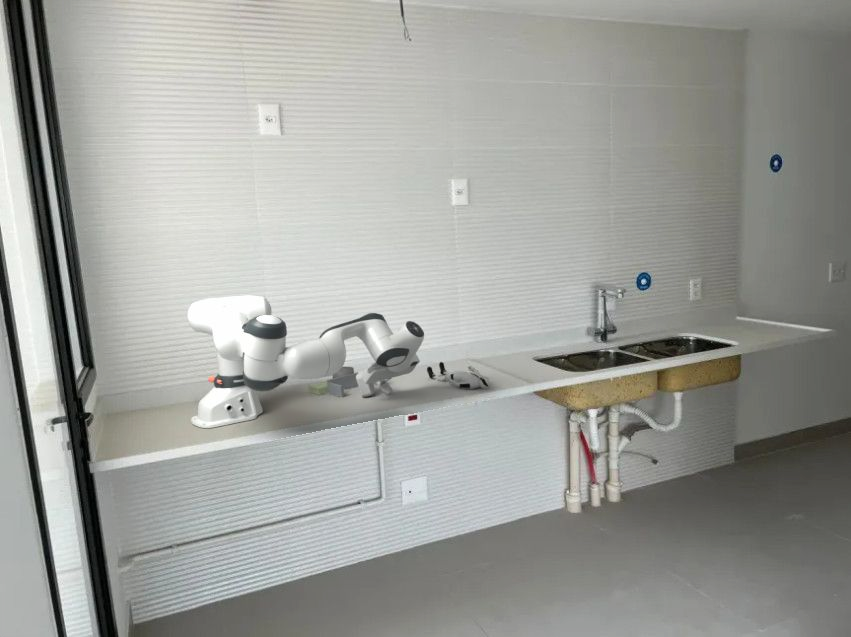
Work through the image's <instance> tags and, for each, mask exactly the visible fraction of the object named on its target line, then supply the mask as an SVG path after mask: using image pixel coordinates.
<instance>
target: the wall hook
mask: <svg viewBox="0 0 851 637" xmlns="http://www.w3.org/2000/svg"><path fill="white" fill-rule="evenodd" d="M364 371H365V369H364V370H360V371H358V372H359V373H358V374H357V375H356V380H357V383H358V386H357V387H358V388H359V392H360V395H361V397H362V398H363V399H364V398H367V397H370V396H373V395H374V393H375V391H376V386H378V387H379V388H380V389H381V391H383V393H384V394H385V395H387V396H388V395H389V394H390V393H391V392H392V391H393V387H392V386H391V385H390V384H389V383H388V382H387V383H386V384H382V385H378V384H377V382H375V383H376V384H377V385H376V386H375V385H374V384H373V383H370V384H366V383H365V382H364V381H363V379H362V377H361V375H362V374H363V372H364Z"/></svg>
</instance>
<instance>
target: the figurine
mask: <svg viewBox="0 0 851 637" xmlns="http://www.w3.org/2000/svg"><path fill="white" fill-rule="evenodd" d="M438 364H439V365H438V367H439V370H440V372H439V373H440V375H441V376H438V375H436V374H435V373H434V372H433V368H432V367H431V366H427V368H426V372H427V375H428V377H429V379H430V378H431V379H430V380H437V381H439V382H447V383H449V384H451V386H454V387H456V388H459V389H467V390H475V389H477V388H483V389H484V388H486V389H487V388H490V385H491V382H490V380H489V378H488V377H487V376H485V375H483V374H481V373H480V372H479V369H478V370H477V369H476V368H475V367H473V366H471V365H469V366H468V367H467V369H468V370H469V371H470V372H467V371H462V370H458V371H457V370H455V371H453V372H450V371H448V370H446V369H445V368H446V367H445V363H444V362H443V361H440V362H439V363H438Z"/></svg>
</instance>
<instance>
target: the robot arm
mask: <svg viewBox="0 0 851 637" xmlns="http://www.w3.org/2000/svg"><path fill="white" fill-rule="evenodd" d="M272 313H273V312H272V307H271V304H270V302H269V300H268V299H266V297H265V296H262V295H253V294H251V295H250V294H249V295H248V294H246V295H245V294H244V295H237V296H236V295H233V296H224V297H223V296H222V297H211V298H204V299H201V300H198V301H195V302H193V303H192V304H191V305H190V307H189V308H188V310H187V321H188V324H189V326H190V327H191V329H193V330H194V332H196V333H203V334H208V335H210V336H212V340H213V345H214V347H215V349H216V360H217V369H218V370H217V371H218V373H217V375H216V376H213V375H209V376H208V378H207V381H208V382H209V383H212V384H213V385H214V386H213V387H212V388H211V389H210V390H209V392H207V393H206V394H205V395H204V396H203V397H202V398H201V399H200V401H199V402H198V406H197V415H194V416H192V417H191V419H190V422H191V424H192V425H194V426H196V427H198V428H200V429H202V428H203V429H212V428H216V427H217V428H219V427H222V426H226V425H227V426H228V425H231V424H232V425H233V424H235V423H241V422H247V421H251V420H256V419H257V417H258V416H259V415H260V414H262V413H263V412H264V409H263V407H262V404H261V401H260V398H259V395H258V392H270V391H272V390H275V389H276V388H278V387H279V386H280V385H282V384H284V383H286V382H287V380H288V378H291V379H295V380H310V379H311V380H312V379H321V378H327V377H331V376H333V375H334V374H336V373H337V372H339V371H340V370H341V368H342V367H344V364H345V362H346V357H347V349H346V348H347V347H346V344H345V341H347V340H349V339H352V338H359V340H361V342H363V344H364V346H365V347H366V349H367V350H368V352H369V354H370V356H371V357H372V359H373V360H374V362H372V363H370V364H369V365H367V367H366V368H365V369H364V370H365V371H364V370H363V371H364V372H363V374H362V375H361V377H362V379H363V381H364V382H365V383H366V384H370V383H374V382H377V384H378V385H382V384H386V383H388V382H389V381H390V380H391V379H393V378H396V377H400V376H404V375H407V374H410V373H412V372H413V371H414V370H415V369H416V368H417V365H419V363H420V362H421V360H420V359H419V356H418V355H417V354H416V353H417V352H418V351H419V349H420V347H421V346H422V344H423V342H424V338H425V332H424V330H423V329H422V327H421V326H420V324H418V323H416V322H414V321H412V320H408V321H407V320H406V322H404V323H403V324H402V326H401V327H400V328H399V329H398V331H397V332H395V333H394V332H393V331H392V329H391V328H390V326H389V325H388V322H387V320H386V318H385V316H384V315H383V314H380V313H377V312H376V313H375V312H369V313H366V314H364V315H363V316H360V317H357V318H355V319H353V320H349V321H345V322H343V323H342V322H341V323H339V324H337V325H334V326H331V327H328V328H327V329H325V330H324V331H323V332H322V333H321V334H320V335H319V337H318V339H311V340H306V341H302V342H298V343H295V344H293V345H290V346H287V345H286V342H287V341H286V339H287V337H286V336H287V335H288V331H287V323H286V322H285V321H284V320H283V319H282V318H281V317H278V316H275V315H272ZM378 385H377V386H378Z"/></svg>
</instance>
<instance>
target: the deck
mask: <svg viewBox="0 0 851 637" xmlns="http://www.w3.org/2000/svg"><path fill="white" fill-rule="evenodd" d="M359 372H360V371H357V372H355V368H354V367H352V366H343V367H342V368H341V370H340V371H339V372H337V373H336V374H334V375H332V378H328V379H326V380H325V381H322V382H319V383H318V382H317V383H313V384H310V385H308V392H309V393H310V392H311V393H312V394H314V395H316V396H322V395H327V394H329V395H332V396H336V397H338V396H339V398H341V397H342V398H345V393H344V392H345V390H344V389H346V390H348V388H349V389H352V388H351V387H353V388H356V387H355V386H357V387H359V386H358V383H357V380H356V375H357V374H358V373H359ZM373 384H375V385H374V386H378V385H377V384H376V383H375V382H374V383H373ZM326 393H327V394H326Z"/></svg>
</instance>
